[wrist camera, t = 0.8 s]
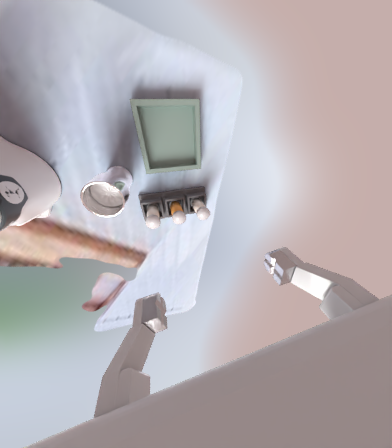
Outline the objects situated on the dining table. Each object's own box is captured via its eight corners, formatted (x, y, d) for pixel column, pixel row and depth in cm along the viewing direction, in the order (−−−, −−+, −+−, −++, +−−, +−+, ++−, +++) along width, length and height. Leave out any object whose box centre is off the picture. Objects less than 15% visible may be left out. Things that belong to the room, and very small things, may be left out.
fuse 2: (190, 206, 45) (197, 221, 37) (189, 196, 43) (197, 209, 35) (200, 205, 45) (209, 218, 38) (200, 195, 43) (210, 207, 36)
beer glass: (97, 171, 34) (67, 191, 22) (123, 159, 34) (107, 172, 22) (116, 195, 38) (100, 224, 26) (139, 184, 38) (134, 208, 26)
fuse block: (145, 219, 44) (145, 224, 41) (138, 194, 40) (137, 199, 37) (203, 209, 48) (207, 214, 45) (203, 186, 43) (207, 190, 40)
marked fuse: (169, 210, 43) (173, 225, 36) (168, 199, 42) (171, 213, 34) (180, 208, 44) (186, 223, 37) (179, 198, 42) (185, 211, 35)
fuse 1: (148, 213, 42) (147, 229, 35) (145, 203, 40) (144, 218, 33) (159, 211, 43) (161, 227, 35) (157, 201, 41) (158, 215, 34)
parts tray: (146, 171, 37) (146, 174, 35) (131, 101, 29) (129, 98, 27) (197, 166, 40) (200, 168, 37) (195, 101, 32) (199, 98, 30)
